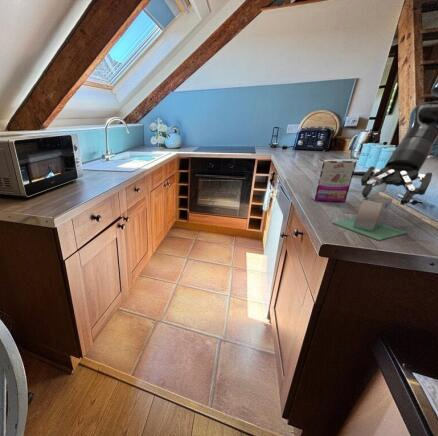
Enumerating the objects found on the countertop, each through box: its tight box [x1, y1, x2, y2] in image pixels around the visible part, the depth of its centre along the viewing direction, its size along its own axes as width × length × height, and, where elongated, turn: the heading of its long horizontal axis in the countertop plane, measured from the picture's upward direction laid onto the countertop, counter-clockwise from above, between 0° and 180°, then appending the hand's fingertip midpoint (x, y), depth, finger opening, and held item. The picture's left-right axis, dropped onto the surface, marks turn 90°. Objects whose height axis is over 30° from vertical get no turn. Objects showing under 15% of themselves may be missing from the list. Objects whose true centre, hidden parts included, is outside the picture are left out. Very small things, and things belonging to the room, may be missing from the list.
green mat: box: [332, 217, 408, 242], centre depth 75 cm, size 13×13×1 cm
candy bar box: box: [310, 158, 358, 203], centre depth 98 cm, size 11×5×16 cm, turn 76°
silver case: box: [353, 194, 394, 232], centre depth 74 cm, size 5×8×9 cm, turn 122°
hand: (382, 199), depth 72 cm, fingers open, 8 cm apart
